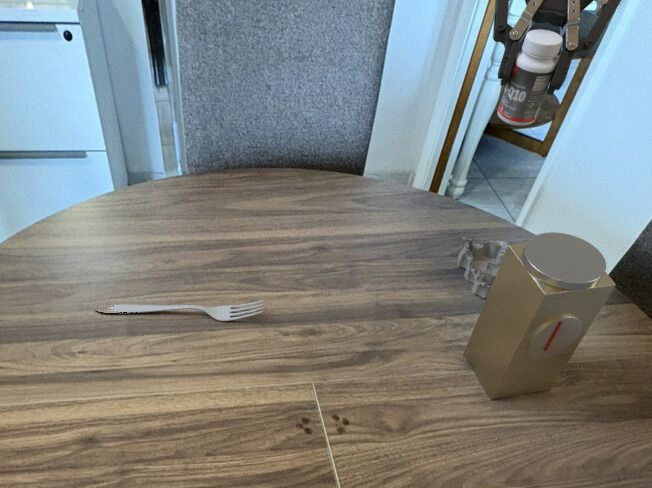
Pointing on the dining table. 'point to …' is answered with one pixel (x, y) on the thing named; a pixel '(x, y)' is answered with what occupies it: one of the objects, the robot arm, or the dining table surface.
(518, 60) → the pill bottle
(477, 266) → the egg carton
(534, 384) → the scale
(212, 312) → the fork
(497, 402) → the dining table surface
